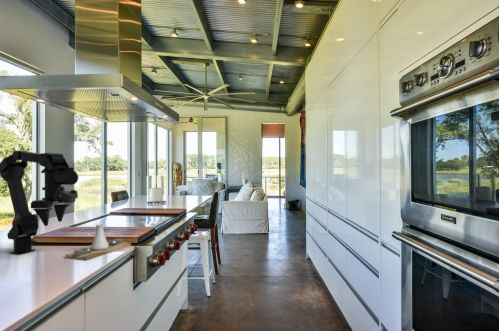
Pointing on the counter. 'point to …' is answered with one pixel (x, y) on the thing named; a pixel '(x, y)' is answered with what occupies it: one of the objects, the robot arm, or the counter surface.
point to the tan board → (98, 252)
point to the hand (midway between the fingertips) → (53, 223)
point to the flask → (99, 239)
